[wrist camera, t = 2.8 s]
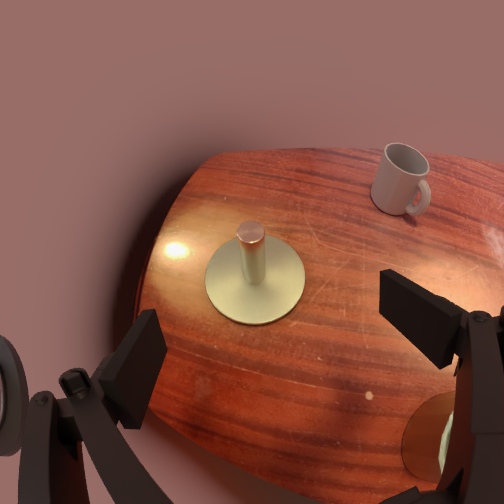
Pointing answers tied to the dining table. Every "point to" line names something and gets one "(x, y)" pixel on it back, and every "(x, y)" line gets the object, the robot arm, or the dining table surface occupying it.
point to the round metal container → (429, 437)
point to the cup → (401, 181)
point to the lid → (254, 277)
